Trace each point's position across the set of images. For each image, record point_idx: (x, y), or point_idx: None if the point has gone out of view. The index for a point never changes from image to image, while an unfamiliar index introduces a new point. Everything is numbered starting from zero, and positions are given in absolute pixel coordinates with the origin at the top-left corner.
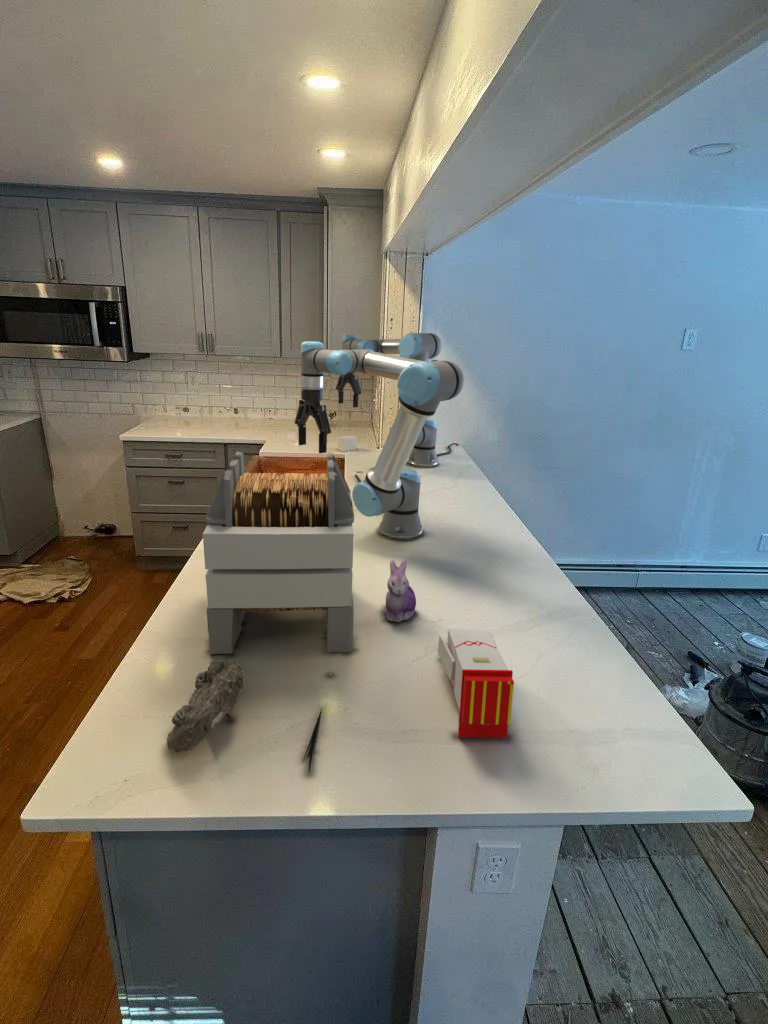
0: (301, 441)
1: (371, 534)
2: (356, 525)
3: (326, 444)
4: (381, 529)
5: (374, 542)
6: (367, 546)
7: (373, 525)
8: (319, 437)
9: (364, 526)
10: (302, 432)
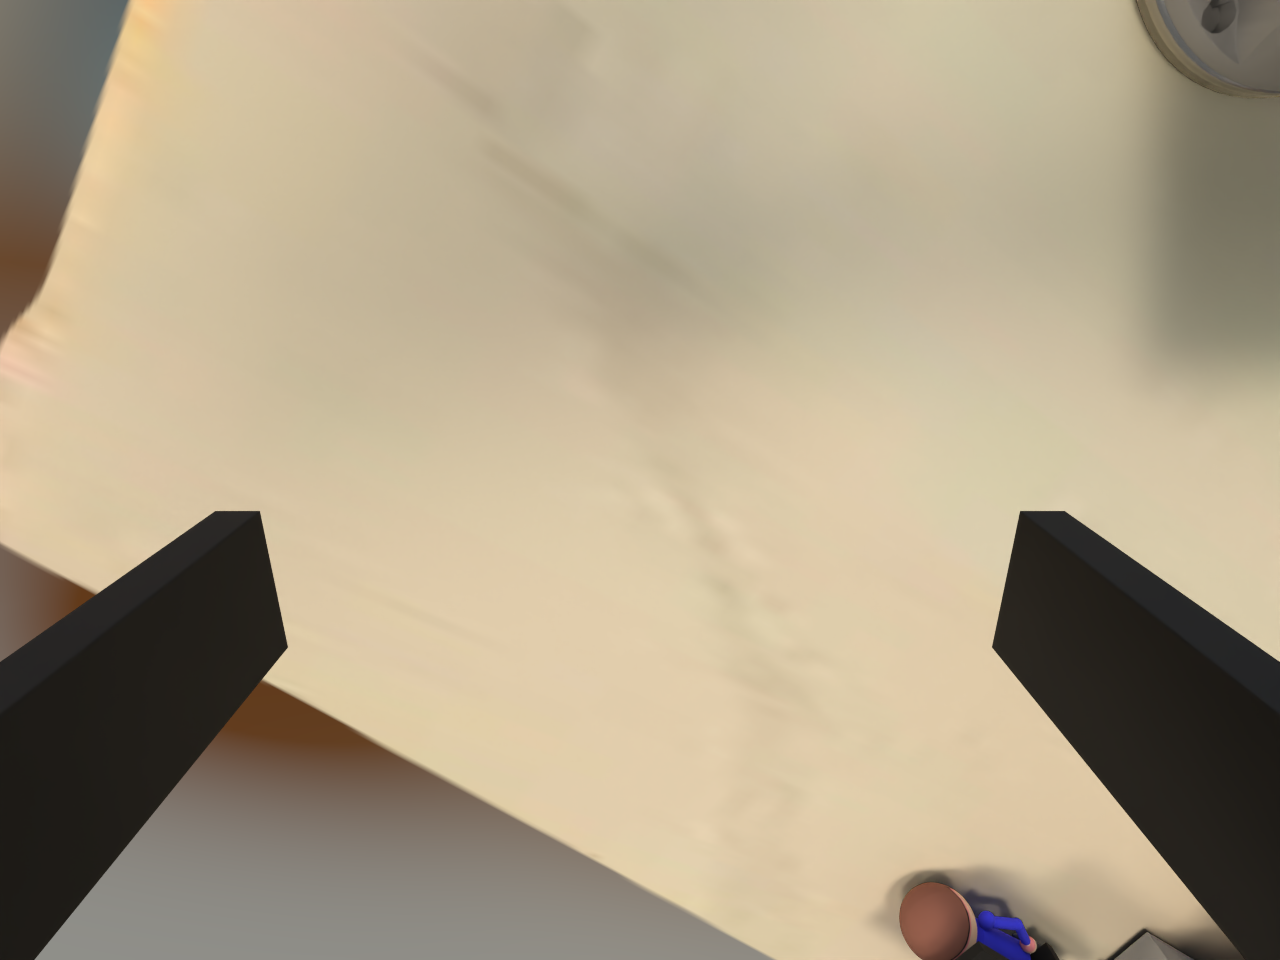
0: (241, 655)
1: (1153, 151)
2: (951, 136)
3: (1183, 597)
4: (1252, 84)
5: (1260, 228)
6: (1264, 311)
7: (1043, 8)
8: (1266, 937)
9: (1008, 92)
10: (80, 786)
